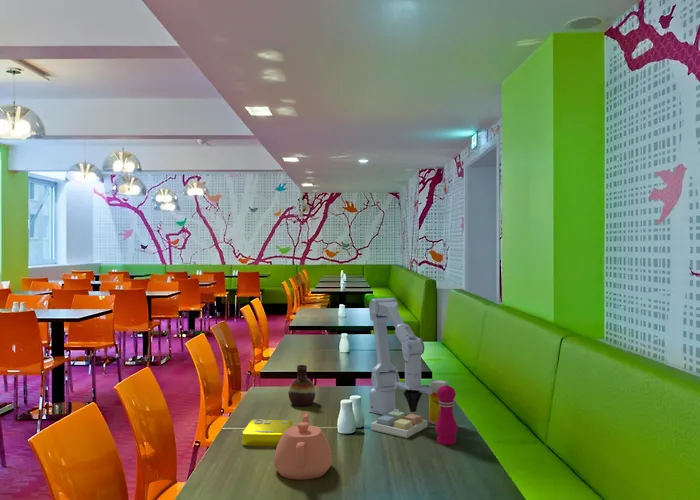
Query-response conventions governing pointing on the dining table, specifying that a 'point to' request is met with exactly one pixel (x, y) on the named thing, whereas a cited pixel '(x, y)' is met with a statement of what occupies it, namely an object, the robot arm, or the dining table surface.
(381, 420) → the slate-blue key
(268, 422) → the element tile
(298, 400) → the vase
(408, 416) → the terracotta key
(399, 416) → the sage key
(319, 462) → the teapot
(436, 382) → the beer can
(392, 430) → the keypad base
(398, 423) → the mustard key
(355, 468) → the dining table surface
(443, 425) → the pepper mill
